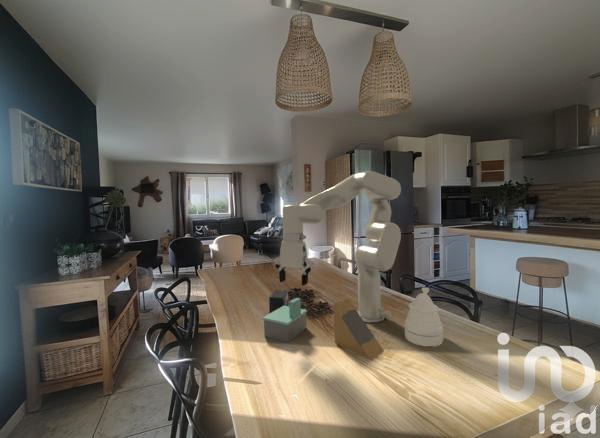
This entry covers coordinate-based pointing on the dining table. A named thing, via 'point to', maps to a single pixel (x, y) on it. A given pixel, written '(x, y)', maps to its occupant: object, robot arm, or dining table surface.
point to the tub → (284, 329)
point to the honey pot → (423, 322)
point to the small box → (278, 300)
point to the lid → (286, 313)
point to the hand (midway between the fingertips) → (293, 283)
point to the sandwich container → (354, 331)
